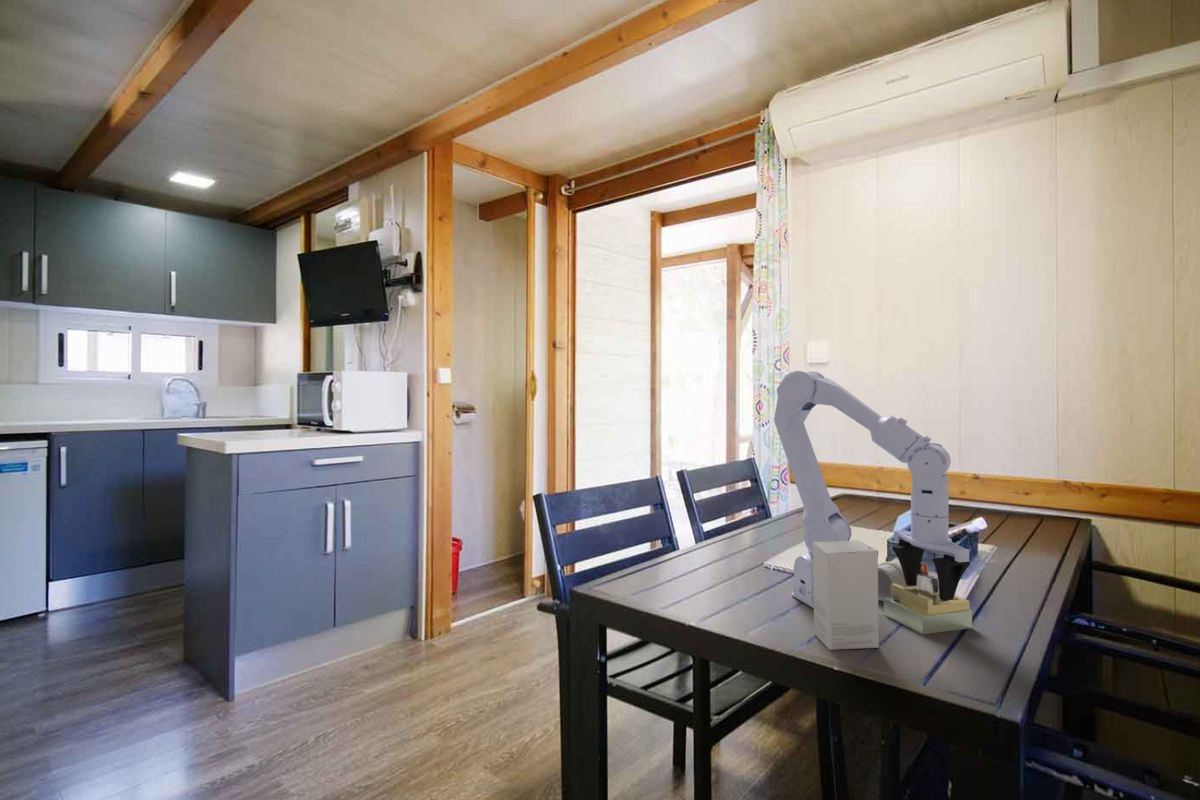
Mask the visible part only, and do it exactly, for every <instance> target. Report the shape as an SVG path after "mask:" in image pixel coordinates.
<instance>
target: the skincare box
mask: <svg viewBox="0 0 1200 800" xmlns="http://www.w3.org/2000/svg"><path fill="white" fill-rule="evenodd" d="M878 565H879V550H878V549H876V548H875V547H873V546H871V545H869V544H867V543H865V542H864V541H862V540H860V539H859V540H858V539H857V540H855V539H854V540H849V541H830V542H813V578H814V608H813V634H814V635H815V637H816V638H817V639H819V640H820V641H821V643H822V644H823V645H824V646H825V647H826V648H827V649H828V650H829V651H833V650H835V651H836V650H837V651H838V650H855V649H858V650H860V649H879V648H880V647H879V646H880V643H879V642H880V641H879V639H880V637H879V636H880V635H879V599H878Z"/></svg>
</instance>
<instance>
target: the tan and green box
mask: <svg viewBox="0 0 1200 800" xmlns="http://www.w3.org/2000/svg"><path fill="white" fill-rule="evenodd" d="M970 604H971V601H970V600H968V599H966V598H963V597H960V596H958V595H956V594H955V595H954V599H953V600H947V601H943V602H936V603H933V599H931V598H928V597H926V596H924V595H921V594H919V593H917V592H916V587H908V588H905V587H903V586H900V585H898V584H896V583H894V584H891V597H887V598H884V601H883V615H884V616H886V617H887V618H888V619H889V618H890V619H892V620H894V621H896V622H897V623H900V624H901V625H903V626H905V627H907V628H909V629H911V630H913V631H915V632H917V633H919V634H921V635H931V634H936V633H945V632H953V631H961V630H967V629H968V630H969V629H973V610H972V609H971V606H970Z"/></svg>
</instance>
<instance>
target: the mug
mask: <svg viewBox="0 0 1200 800" xmlns="http://www.w3.org/2000/svg"><path fill="white" fill-rule="evenodd" d="M921 563H924V562H922V561H921ZM928 572H930V571H929V570H928ZM894 583H896V584H898V585H900V586H903V587H905V588H908V587H916V586H917V585H915V586H907V585H906V582H905V578H904V574H903V570H902V567H901V564H900V562H899V560H898V557H897V556H896V557H895V558H893V559H891V561H883V562H881V563H878V601H881V602H884V598H887V597H891V584H894Z"/></svg>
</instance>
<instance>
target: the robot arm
mask: <svg viewBox="0 0 1200 800" xmlns="http://www.w3.org/2000/svg"><path fill="white" fill-rule="evenodd" d="M776 394H777V400H776V406H775V412H774V419H773V421H774V424H775V425H774V426H775V428H776V431H777V434H778V437H779V439H780V442H781V446H782V447H783V450H784V454H785V456H786V459H787V462H788V465H789V468H790V471H791V473H792V476H793V480H794V482H795V485H796V488H797V491H798V494H799V497H800V500H801V503H802V506H803V514H802V523H803V525H804V526H803V527H804V535H803V540H804V543H805V546H806V548H807V552H806V553H805V554H804V555H800V556H797V557H796V558H795V560H794V564H793V592H791V596H793V598H795V599H798V600H799V601H801V602H803V604H805V605H808V606H809V607H811V608H813V609H814V578H813V542H830V541H851V539H852V528H851V525H850V523H848V521H847V520H846V518H844V517H843V516H842V514H841V512H840V508H839V507H838V506H837V505H836V503H835V502H834V501H833V500H832V498H831V496H830V493H829V490H828V487H827V484H826V482H825V479H824V477H823V474H822V470H821V468H820V465H819V462H818V459H817V457H816V454H815V451H814V448H813V445H812V443H811V439H810V436H809V433H808V432H807V428H806V425H805V422H806V419H807V417H808V416H809V414H810V412H811V411H812V409H813V408H815V406H817V405H824V406H831V407H833V408H834V409H837V410H838V411H840V412H841V413H843V414H844V415H846V416H847V417H848V418H850V419H852V420H853V421H855V422H857V423H858V424H860V425H861V426H862V427H863V428H866V430H869V432H870V436H871V440H872V442H873V443H874V444H876V445H877V446H879V447H880V448H881V449H883V450H884V451H885V452H887V453H889V454H890V455H891V456H893V457H894V458H895V459H897V460H898V461H900V463H902V464H907V468H908V470H909V472H910V473H911V487H910V531H909V530H906V529H895V530H894V531H893V538H894V539H893V541H895V542H897V544H892V547H891V548H892V550H893V552H894V553H895V555H896V557H898V560H899V562H900V564H901V567H902V570H903V574H904V578H905V582H906V585H907V586H915V585H917V572H920V564H921V562H922V559H923V557H924V554H925V551H928V552H932V553H935V554H938V555H941V556H942V557H936V558H932V562H933V564H934V568H935V570H936V571H935V572H936V573H937V575H938V581H939V595H940V599H941V600H943V601H947V600H953V599H954V595H956V591H957V588H958V585H959V583H960V581H961V578H962V577H963V575H964V573H965V572H966V571H967V569H968V568H969V566H970V565H971V564H970V562H971V561H970V549H967V548H965V547H963V546H961V545H959V544H957V543H955V542H953V541H952V538H949V514H950V513H949V510H950V509H949V507H950V506H949V500H950V499H949V498H950V497H949V495H950V493H949V492H950V491H949V487H948V485H949V479H948V474H947V472H948V470H949V469H950V468H951V467H950V466H951V463H952V462H951V456H950V453H949V452H948V451H947V450H946V449H945V448H944V447H943V445H942V444H941V443H938V442H936V443H935V442H931V441H932V438H931V437H929V436H928V435H924V436H923V435H921V434H920V433H919V432H918V431H916V430H914V429H913V428H911V427H910V426H908V425H907V423H908V421H907V420H906V419H905V418H903V417H899V418H897V417H895V416H894V415H891V416H889V415H888V416H881V415H880V414H878V413H877V412H876V411H875V410H873V409H872V408H870V406H869V405H867V404H865V403H864V402H863V401H862V400H860V399H858V397H856V396H855V395H853V394H852V393H851V392H850V391H848V389H847V390H846V389H845V388H844V387H843V386H841V385H840V384H838V383H837V382H835V381H834V380H832V379H829V378H828V377H827V378H826V377H825V376H824V375H823V374H822V373H820V372H817V371H802V370H794V371H790V372H789V373H787V374H786V375H785V376H784V377H783V378H782V380H781V382H780V383H779V385H777V388H776Z"/></svg>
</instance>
